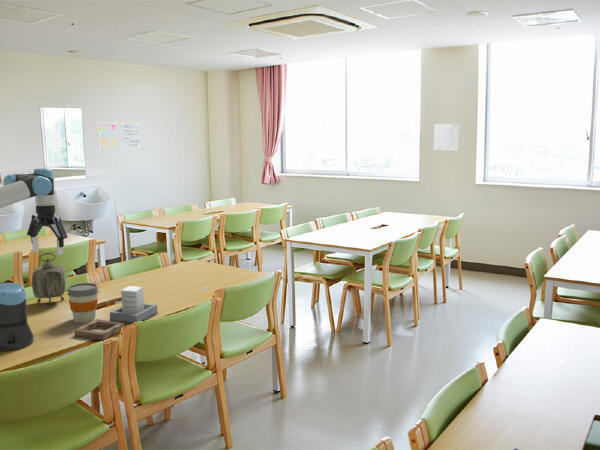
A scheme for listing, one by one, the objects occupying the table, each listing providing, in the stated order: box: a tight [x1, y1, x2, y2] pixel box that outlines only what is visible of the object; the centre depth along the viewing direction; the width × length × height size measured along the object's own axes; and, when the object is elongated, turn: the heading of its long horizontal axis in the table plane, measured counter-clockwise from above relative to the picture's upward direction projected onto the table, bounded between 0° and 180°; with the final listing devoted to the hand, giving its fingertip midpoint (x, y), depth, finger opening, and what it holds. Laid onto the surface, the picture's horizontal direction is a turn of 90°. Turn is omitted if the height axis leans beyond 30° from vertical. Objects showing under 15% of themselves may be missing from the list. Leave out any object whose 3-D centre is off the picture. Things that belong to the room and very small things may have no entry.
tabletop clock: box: [31, 252, 67, 305], centre depth 261 cm, size 14×9×25 cm, turn 110°
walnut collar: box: [73, 318, 125, 341], centre depth 226 cm, size 14×14×2 cm
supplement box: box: [120, 285, 145, 314], centre depth 244 cm, size 7×7×13 cm
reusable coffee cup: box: [67, 282, 99, 324], centre depth 240 cm, size 13×13×15 cm
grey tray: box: [109, 302, 158, 325], centre depth 245 cm, size 16×14×4 cm
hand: (48, 253), depth 235 cm, fingers open, 13 cm apart
